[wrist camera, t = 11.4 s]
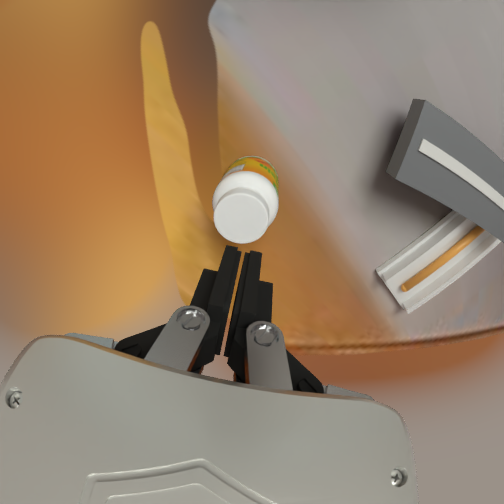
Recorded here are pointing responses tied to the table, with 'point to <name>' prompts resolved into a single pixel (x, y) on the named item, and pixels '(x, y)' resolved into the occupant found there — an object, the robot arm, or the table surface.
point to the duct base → (435, 260)
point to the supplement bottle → (246, 200)
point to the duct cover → (450, 166)
